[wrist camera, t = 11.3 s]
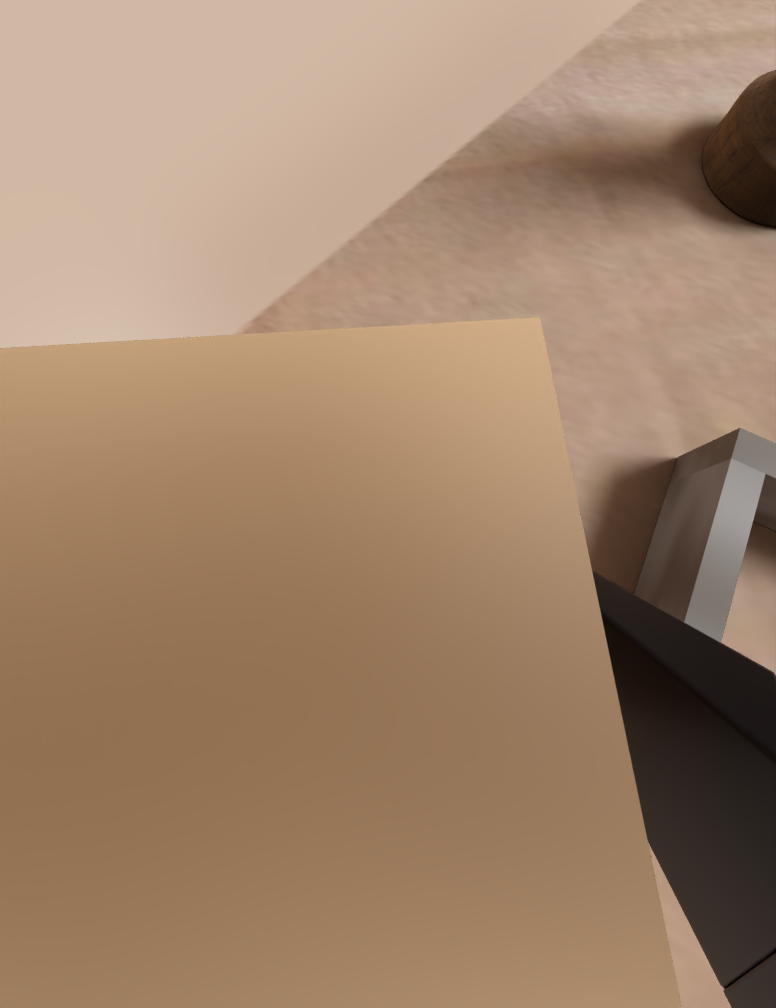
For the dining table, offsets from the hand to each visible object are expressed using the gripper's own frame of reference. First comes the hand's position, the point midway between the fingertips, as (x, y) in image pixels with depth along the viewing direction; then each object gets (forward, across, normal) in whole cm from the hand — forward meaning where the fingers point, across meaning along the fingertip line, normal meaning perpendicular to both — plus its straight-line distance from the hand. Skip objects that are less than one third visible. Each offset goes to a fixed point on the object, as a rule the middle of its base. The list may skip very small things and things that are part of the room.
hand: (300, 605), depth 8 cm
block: (+5, 0, +6) cm, 8 cm away
